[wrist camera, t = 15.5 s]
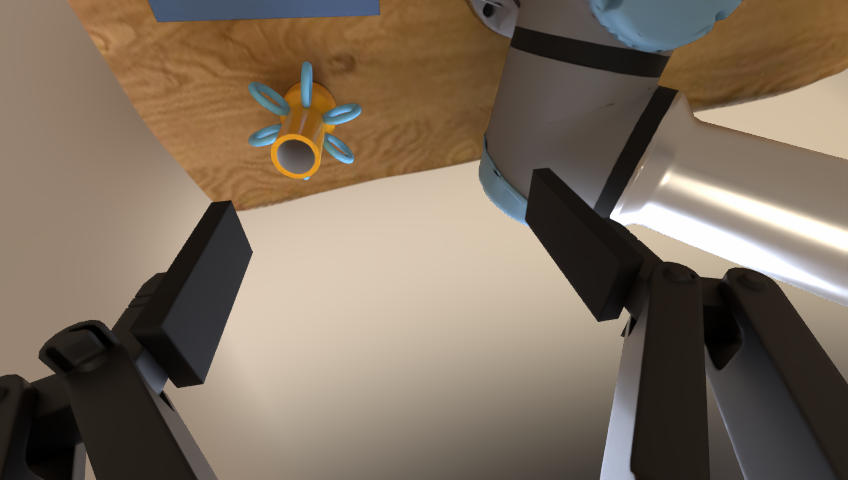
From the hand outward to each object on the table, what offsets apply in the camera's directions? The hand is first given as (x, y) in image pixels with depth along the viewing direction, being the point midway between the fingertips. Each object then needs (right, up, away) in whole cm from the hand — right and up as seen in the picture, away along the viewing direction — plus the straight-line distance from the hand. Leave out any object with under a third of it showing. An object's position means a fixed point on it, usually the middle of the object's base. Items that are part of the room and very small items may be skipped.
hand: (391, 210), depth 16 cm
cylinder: (-12, +15, +26) cm, 32 cm away
